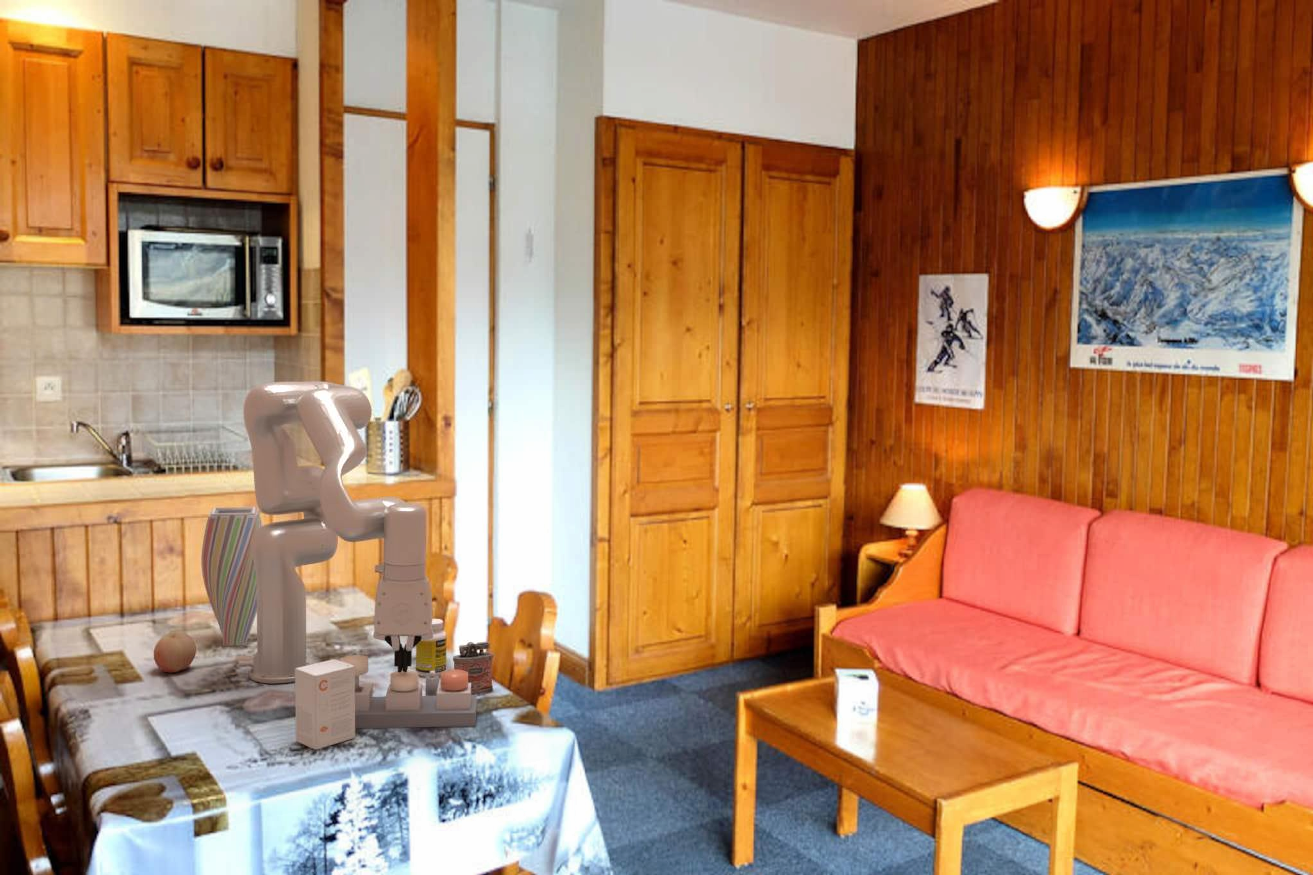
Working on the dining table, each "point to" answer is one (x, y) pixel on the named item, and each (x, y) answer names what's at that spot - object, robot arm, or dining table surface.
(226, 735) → the dining table surface
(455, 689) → the knob far
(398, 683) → the knob mid
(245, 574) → the vase
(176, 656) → the fruit
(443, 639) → the pill bottle
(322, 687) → the small box
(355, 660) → the knob near
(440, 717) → the mount board
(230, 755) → the dining table surface
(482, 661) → the lighter
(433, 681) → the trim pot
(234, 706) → the dining table surface
